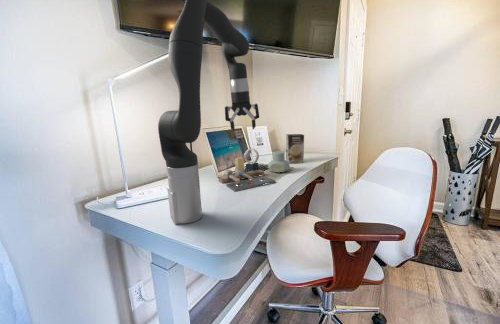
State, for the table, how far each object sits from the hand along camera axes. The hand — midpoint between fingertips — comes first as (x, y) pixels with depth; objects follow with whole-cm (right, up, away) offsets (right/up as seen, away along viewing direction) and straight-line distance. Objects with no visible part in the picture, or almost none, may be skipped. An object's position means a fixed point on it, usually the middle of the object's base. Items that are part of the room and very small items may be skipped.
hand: (243, 129), depth 111 cm
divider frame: (+1, -23, +7) cm, 24 cm away
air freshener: (+17, -19, +21) cm, 33 cm away
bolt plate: (+3, -24, +1) cm, 24 cm away
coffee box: (+29, -14, +39) cm, 50 cm away
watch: (+4, -18, +27) cm, 32 cm away
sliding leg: (0, -21, +6) cm, 22 cm away
